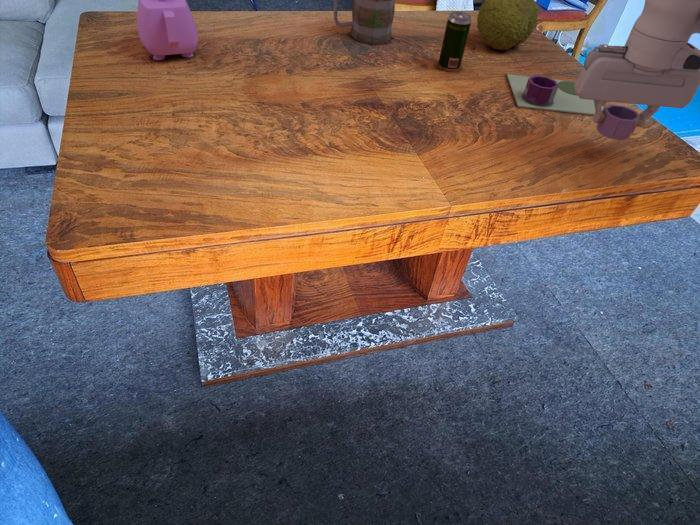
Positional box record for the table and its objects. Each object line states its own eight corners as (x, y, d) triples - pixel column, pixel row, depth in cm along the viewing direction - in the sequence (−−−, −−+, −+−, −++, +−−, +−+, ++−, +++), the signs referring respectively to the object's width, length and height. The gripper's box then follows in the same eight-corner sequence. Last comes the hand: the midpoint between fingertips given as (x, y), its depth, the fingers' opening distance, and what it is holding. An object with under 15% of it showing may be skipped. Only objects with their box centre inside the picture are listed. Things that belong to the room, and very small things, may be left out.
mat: (588, 84, 123) (589, 82, 123) (608, 117, 111) (609, 115, 111) (506, 75, 123) (507, 73, 122) (517, 107, 111) (518, 104, 111)
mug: (389, 30, 137) (396, -19, 129) (392, 46, 130) (399, -5, 121) (331, 25, 136) (334, -25, 128) (331, 41, 128) (334, -11, 120)
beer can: (463, 71, 122) (476, 19, 114) (443, 72, 121) (454, 20, 112) (454, 62, 126) (466, 10, 117) (434, 63, 124) (444, 11, 116)
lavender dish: (623, 125, 99) (633, 106, 97) (634, 141, 95) (644, 122, 92) (592, 122, 99) (600, 103, 97) (601, 138, 95) (610, 119, 92)
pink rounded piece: (208, 65, 112) (201, 4, 104) (149, 71, 108) (136, 8, 99) (189, 31, 125) (181, -26, 116) (135, 35, 121) (123, -24, 112)
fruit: (528, 63, 129) (517, 7, 119) (476, 66, 138) (462, 14, 127) (549, 25, 135) (541, -31, 125) (498, 31, 144) (486, -22, 134)
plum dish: (548, 94, 116) (554, 77, 113) (554, 107, 112) (561, 89, 109) (521, 91, 116) (527, 74, 113) (526, 104, 111) (532, 86, 109)
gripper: (597, 50, 84) (566, 126, 94) (719, 62, 84) (676, 136, 94) (586, 36, 89) (558, 109, 98) (703, 47, 89) (663, 120, 98)
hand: (617, 123), depth 96 cm, fingers closed on lavender dish, 6 cm apart
